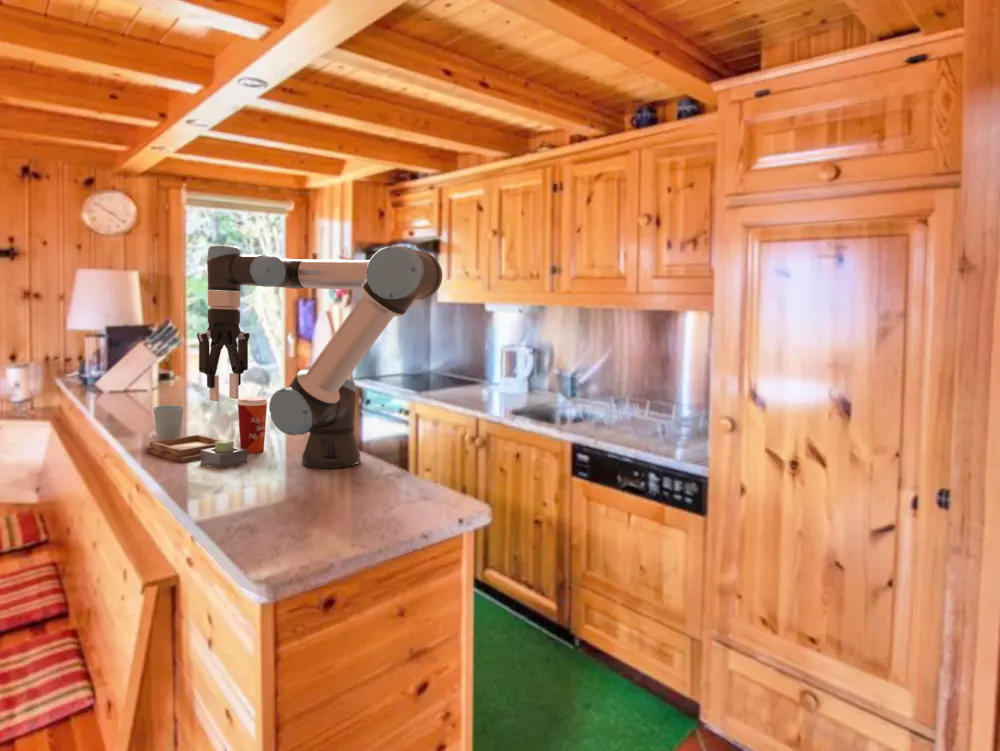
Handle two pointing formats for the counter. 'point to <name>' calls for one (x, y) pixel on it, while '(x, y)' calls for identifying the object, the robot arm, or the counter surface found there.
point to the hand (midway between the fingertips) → (224, 399)
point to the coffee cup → (252, 423)
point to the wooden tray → (183, 447)
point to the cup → (168, 421)
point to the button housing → (224, 457)
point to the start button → (224, 446)
